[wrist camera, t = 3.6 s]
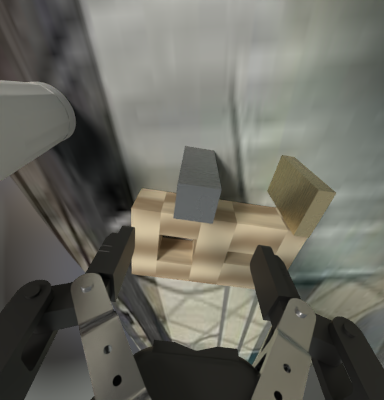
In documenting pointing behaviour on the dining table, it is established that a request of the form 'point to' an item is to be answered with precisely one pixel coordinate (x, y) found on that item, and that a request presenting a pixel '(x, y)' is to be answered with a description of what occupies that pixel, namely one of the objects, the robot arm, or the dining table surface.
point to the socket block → (206, 240)
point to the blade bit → (299, 196)
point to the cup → (31, 122)
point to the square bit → (197, 186)
